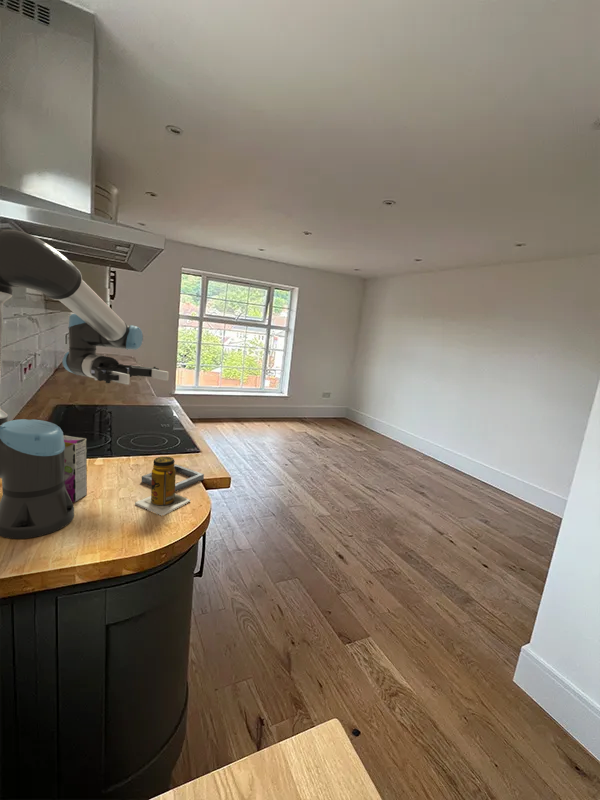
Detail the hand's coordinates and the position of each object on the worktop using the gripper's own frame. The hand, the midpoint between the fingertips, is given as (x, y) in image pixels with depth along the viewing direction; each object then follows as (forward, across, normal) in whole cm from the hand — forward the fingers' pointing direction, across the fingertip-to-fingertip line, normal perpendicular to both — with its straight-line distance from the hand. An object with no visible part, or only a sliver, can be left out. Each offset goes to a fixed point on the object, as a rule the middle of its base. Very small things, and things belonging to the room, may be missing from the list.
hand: (149, 377), depth 106 cm
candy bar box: (-9, +20, -32) cm, 39 cm away
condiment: (+14, +5, -32) cm, 35 cm away
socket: (+5, -6, -32) cm, 33 cm away
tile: (+14, +6, -32) cm, 35 cm away
